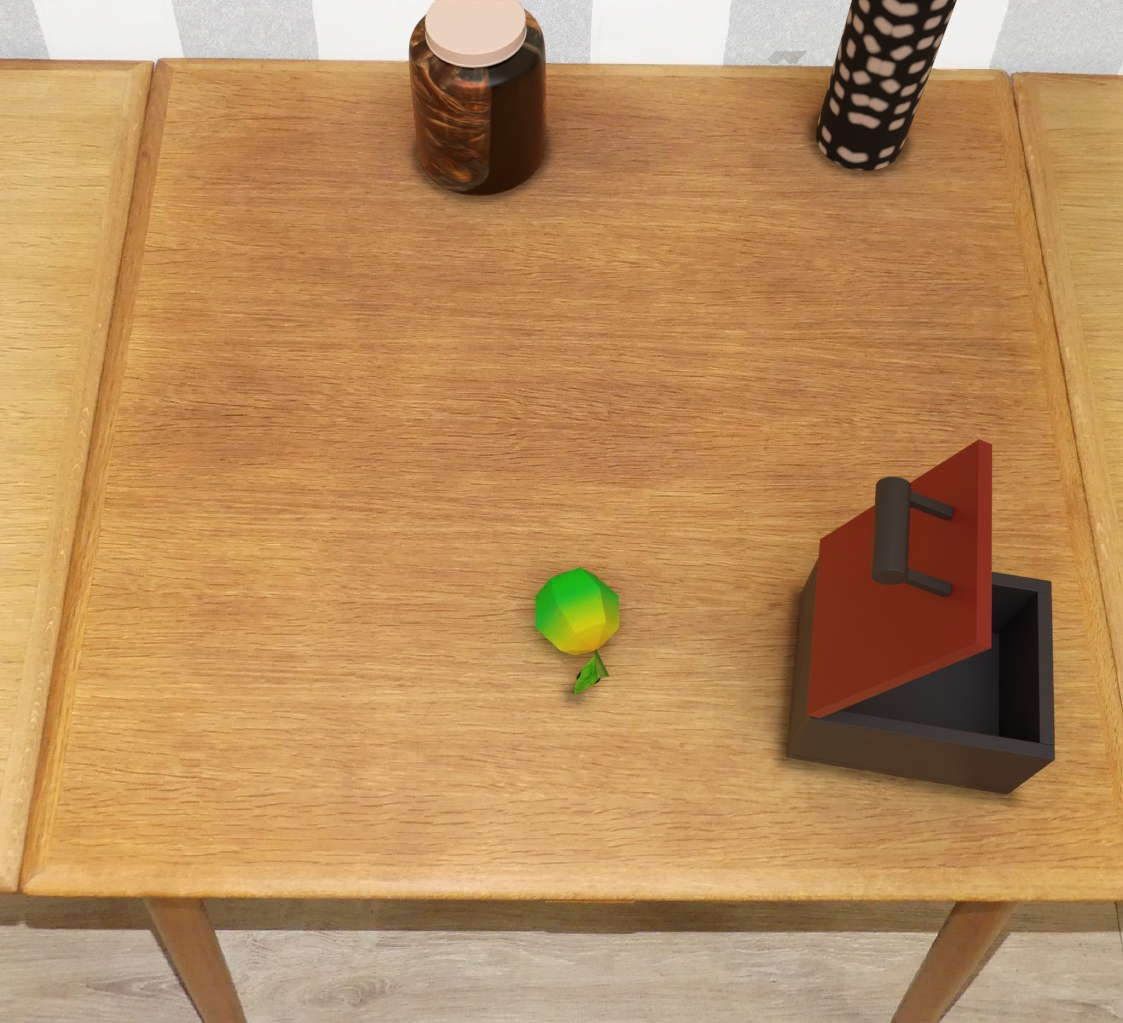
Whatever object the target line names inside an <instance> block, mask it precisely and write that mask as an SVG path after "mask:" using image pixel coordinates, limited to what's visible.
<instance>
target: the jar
mask: <svg viewBox="0 0 1123 1023" xmlns="http://www.w3.org/2000/svg"><path fill="white" fill-rule="evenodd" d="M546 61H547V56H546V43H545V37H544V33H543V30H542V27H541V26H540V24H539V22H538V20H537V19H536V18H535V17H534V15H532V13H530V11H528V10H527V9H525V8H524V6H523V4H522V3H521V2H520V1H519V0H435V1H433V2H432V4H430V5H429V8H428V9H427V12H426V14H424V15H423V16H422V17H421V19H420V20H418V22H417V23H416V24H415V26H414V28H413V30H412V33H411V35H410V38H409V43H408V68H409V70H408V71H409V81H410V90H411V91H410V92H411V99H412V111H413V118H414V127H415V134H416V143H417V144H416V145H417V150H418V157H419V161H420V163H421V166H422V168H423V170H424V171H425V173H426V174H427V175H428V176H429V178H430V179H431V180H433V181H434V182H435V183H436V184H438V185H440V186H441V187H443V188H445V189H447V190H450V191H451V192H455V193H459V194H463V195H470V196H486V195H487V196H488V195H494V194H495V195H496V194H499V193H503V192H506V191H508V190H511V189H514V188H516V187H517V186H519V185H521V184H523V183H524V182H526V181H527V180H528V179H529V178H530V177H532V176H533V175H534V173H536V171H537V170H538V169H539V167H540V165H541V163H542V161H543V158H544V155H545V150H546V135H547V134H546V133H547V132H546V130H547V128H546V127H547V126H546V125H547V62H546Z"/></svg>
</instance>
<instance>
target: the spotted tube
mask: <svg viewBox="0 0 1123 1023" xmlns="http://www.w3.org/2000/svg"><path fill="white" fill-rule="evenodd" d="M957 1H958V0H851V2H850V5H849V9H848V13H847V17H846V19H845V23H844V26H843V31H842V33H841V34H842V35H841V37H840V42H839V45H838V49H837V53H836V55H835V59H834V62H833V66H832V70H831V73H830V77H829V81H828V84H827V88H826V91H825V95H824V98H823V103H822V105H821V110H820V113H819V117H818V121H817V124H816V128H815V140H816V143H817V146H818V148H819V149H820V151H821V152H822V153H823V155H824V156H826V157H827V158H828V159H829V160H831V161H832V162H834V163H835V164H836V165H838V166H840V167H843V168H846V169H850V170H854V171H863V172H867V171H875V170H876V171H877V170H879V169H883V168H885V167H888V166H889V165H891V164H892V163H894V162H895V161H896V160H897V158H898V157H899V156H900V155H901V153H902V150H903V147H904V145H905V143H906V140H907V138H908V137H907V136H908V134H909V131H910V129H911V126H912V123H913V120H914V118H915V115H916V112H917V110H918V107H919V105H920V101H921V98H922V96H923V94H924V91H925V88H926V85H927V83H928V81H929V77H930V75H931V72H932V68H933V66H934V63H935V62H936V61H935V60H936V58H937V56H938V53H939V50H940V47H941V45H942V42H943V39H944V36H945V34H946V31H947V28H948V26H949V23H950V20H951V17H952V15H953V12H954V9H955V7H956V4H957Z"/></svg>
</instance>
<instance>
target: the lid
mask: <svg viewBox="0 0 1123 1023" xmlns="http://www.w3.org/2000/svg"><path fill="white" fill-rule="evenodd" d="M874 490H875V492H874V504H873V505H872V506H870V507H869V508H867V509H866V510H864V511H862V512H861V513H859V514H858V515H856V516H854V517H853V518H852V519H850V520H848V521H847V522H845V523H843V524H842V525H840V526H839V527H837V528H836V529H834V530H833V531H831V532H829V533H828V534H826V535H824V536H823V537H821V538H820V539H819V545H818V546H819V547H818V550H819V551H818V557H819V558H818V557H817V559H818V571H817V584H816V597H815V610H814V623H813V636H812V649H811V661H810V674H809V687H808V700H807V713H806V714H807V715H809V716H813V717H816V718H821V717H824V716H826V715H829V714H831V713H834V712H836V711H838V710H841V709H843V708H846V707H848V706H851V705H853V704H856V703H858V702H860V701H863V700H865V699H868V698H870V697H873V696H875V695H878V694H880V693H882V692H885V691H887V690H890V689H892V688H895V687H897V686H900V685H902V684H905V683H907V682H909V681H912V680H914V679H917V678H919V677H922V676H924V675H927V674H929V673H931V672H934V671H936V670H939V669H941V668H944V667H946V666H949V665H951V664H953V663H956V662H958V661H961V660H963V659H966V658H968V657H971V656H973V655H975V654H978V653H980V652H983V651H985V650H988V649H990V648H991V616H992V572H993V557H992V556H993V444H992V443H990V442H987V441H986V440H983V439H980V438H978V439H977V440H975V441H974V442H972V443H970V444H969V445H967V446H966V447H964V448H962V449H961V450H959V451H958V452H956V453H955V454H953V455H952V456H950V457H948V458H947V459H945V460H943V461H942V462H940V463H938V464H937V465H935V466H933V467H932V468H931V469H929V470H928V471H926V472H925V473H923V474H921V475H920V476H918V477H917V478H914V479H913V480H911V481H909V480H908V479H905V478H903V477H899V476H886V477H881V478H880V479H879V480H877V482H876V483H875V489H874Z"/></svg>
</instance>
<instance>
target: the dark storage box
mask: <svg viewBox="0 0 1123 1023" xmlns="http://www.w3.org/2000/svg"><path fill="white" fill-rule="evenodd" d="M818 558H819V556H818V557H817V559H816V560H815V563H814V565H813V567H812V569H811V571H810V573H809V574H808V575H809V576H808V577H807V580H806V581H805V584H804V585H803V588H802V590H801V592H800V594H799V598H798V610H797V622H796V634H795V646H794V657H793V670H792V680H791V693H790V706H789V717H788V727H787V728H788V729H787V740H786V751H785V752H786V753H785V757H786V758H787V759H793V760H798V761H799V760H800V761H805V762H811V763H817V764H823V765H830V766H834V767H835V766H836V767H841V768H846V769H853V770H859V771H865V772H871V773H875V774H876V773H877V774H883V775H889V776H894V777H899V778H900V777H901V778H907V779H912V780H917V781H918V780H919V781H925V782H931V783H937V784H942V785H948V786H953V787H954V786H955V787H960V788H967V789H973V790H978V791H984V792H991V793H996V794H1002V795H1009V794H1011V793H1012V792H1013V791H1014V790H1016V789H1018V788H1019V787H1020V786H1022V785H1023V784H1024V783H1025V782H1027V781H1028V780H1029V779H1031V778H1033V777H1034V776H1035V775H1036V774H1038V773H1039V772H1041V771H1042V770H1043V769H1045V768H1046V767H1047V766H1048V765H1050V764H1051V763H1053V762H1054V761H1055V760H1056V746H1055V745H1056V740H1055V739H1056V733H1055V730H1056V728H1055V726H1056V725H1055V687H1054V686H1055V681H1054V680H1055V679H1054V678H1055V677H1054V635H1053V633H1054V632H1053V630H1054V629H1053V594H1052V593H1053V590H1052V588H1053V587H1052V586H1053V585H1052V580H1047V579H1042V578H1041V579H1040V578H1034V577H1028V576H1022V575H1015V574H1010V573H1004V572H1002V573H1001V572H998V571H997V572H996V571H992V616H991V648H990V649H988V650H985V651H983V652H980V653H978V654H975V655H973V656H971V657H968V658H966V659H963V660H961V661H958V662H956V663H953V664H951V665H949V666H946V667H944V668H941V669H939V670H936V671H934V672H931V673H929V674H927V675H924V676H922V677H919V678H917V679H914V680H912V681H909V682H907V683H905V684H902V685H900V686H897V687H895V688H892V689H890V690H887V691H885V692H882V693H880V694H878V695H875V696H873V697H870V698H868V699H865V700H863V701H860V702H858V703H856V704H853V705H851V706H848V707H846V708H843V709H841V710H838V711H836V712H834V713H831V714H829V715H826V716H824V717H821V718H816V717H813V716H809V715H807V714H806V713H807V700H808V687H809V674H810V661H811V649H812V636H813V623H814V610H815V597H816V584H817V571H818Z"/></svg>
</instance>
